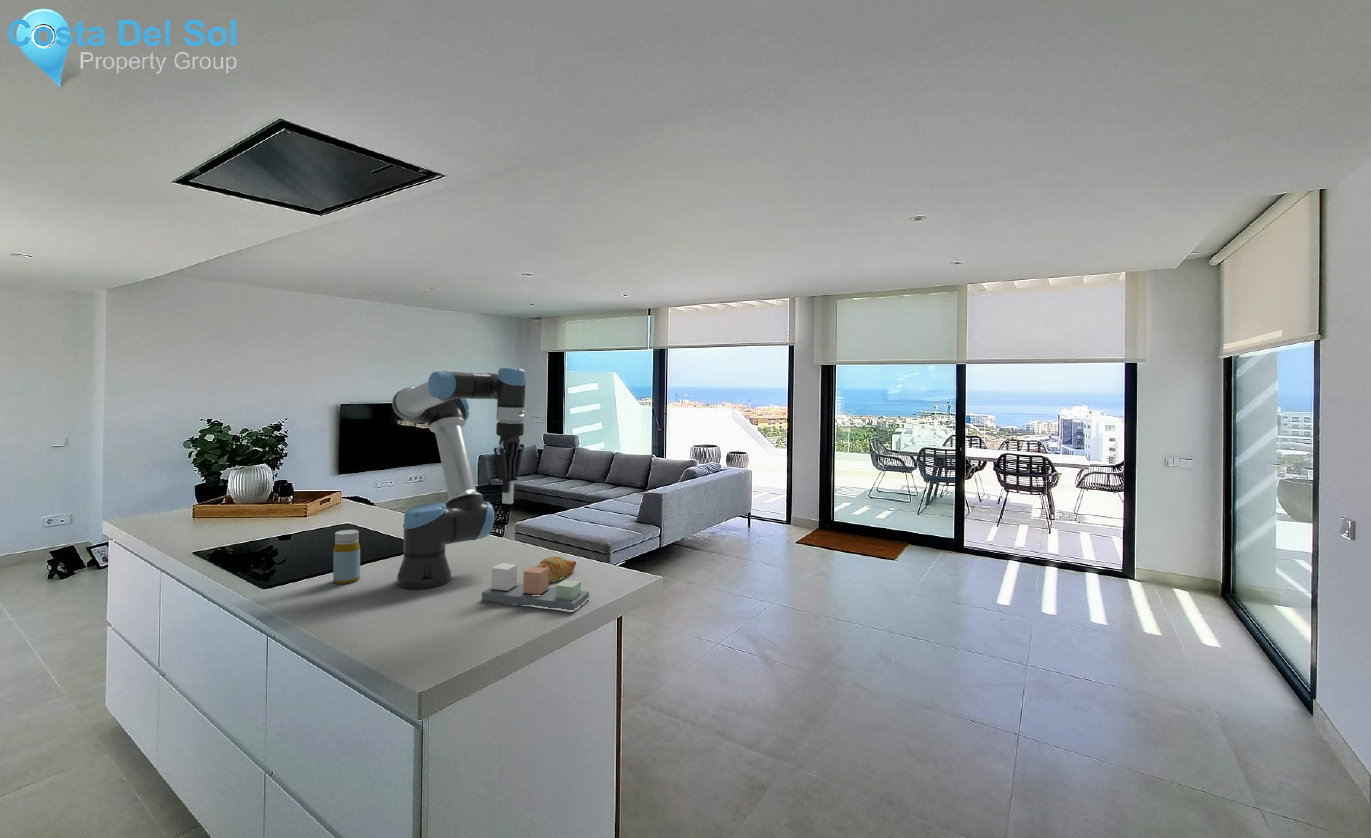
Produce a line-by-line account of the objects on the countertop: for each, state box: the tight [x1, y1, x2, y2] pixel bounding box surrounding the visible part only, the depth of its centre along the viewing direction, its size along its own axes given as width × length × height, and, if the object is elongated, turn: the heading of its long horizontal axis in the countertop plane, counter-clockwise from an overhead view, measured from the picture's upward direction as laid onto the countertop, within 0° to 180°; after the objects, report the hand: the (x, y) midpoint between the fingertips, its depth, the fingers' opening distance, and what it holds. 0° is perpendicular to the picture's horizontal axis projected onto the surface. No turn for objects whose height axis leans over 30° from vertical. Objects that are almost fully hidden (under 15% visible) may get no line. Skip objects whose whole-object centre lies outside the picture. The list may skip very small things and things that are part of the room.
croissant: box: [535, 556, 577, 583], centre depth 182 cm, size 21×10×8 cm, turn 147°
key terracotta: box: [522, 566, 549, 595], centre depth 162 cm, size 5×5×6 cm
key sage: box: [555, 579, 582, 601], centre depth 159 cm, size 5×5×6 cm
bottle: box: [332, 529, 361, 585], centre depth 174 cm, size 7×7×15 cm
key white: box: [491, 562, 518, 591], centre depth 164 cm, size 5×5×6 cm
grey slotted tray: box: [481, 582, 590, 610], centre depth 162 cm, size 28×10×2 cm, turn 76°
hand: (507, 503), depth 165 cm, fingers closed
